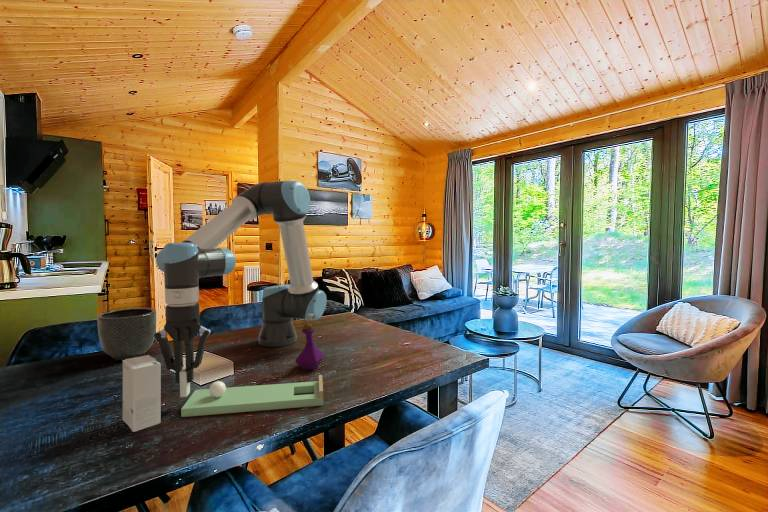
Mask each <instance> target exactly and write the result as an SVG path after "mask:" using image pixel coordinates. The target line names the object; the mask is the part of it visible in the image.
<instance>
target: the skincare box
mask: <svg viewBox="0 0 768 512" xmlns="http://www.w3.org/2000/svg"><path fill="white" fill-rule="evenodd" d="M121 362H122V421H123V422H124V423H125V424H126V425H127V426H128V427H129V429H130V430H131V432H133V433H134V432H138V431H141V430H144V429H147V428H150V427H153V426H156V425H159V424H161V423H162V421H161V415H162V413H161V411H162V410H161V408H162V407H161V405H162V403H161V398H162V397H161V395H162V394H161V391H162V390H161V384H162V381H161V379H162V378H161V377H162V376H161V375H162V371H161V368H162V366H161V365H162V364H161V362H159V361H157V359H156V358H155V357H152V356H151V355H149V354H147V355H146V354H144V355H143V356H140V357H135V358H130V359H125V360H122V361H121Z"/></svg>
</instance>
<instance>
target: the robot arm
mask: <svg viewBox="0 0 768 512" xmlns="http://www.w3.org/2000/svg"><path fill="white" fill-rule="evenodd" d="M310 209H311V196H310V193H309V190H308V189H307V187H306V186H305V185H304V184H303V183H302V182H300V181H297V180H280V181H279V180H278V181H265V182H260V183H257V184H254V185H252V186H250V187H249V188H247V189H245V190H244V191H242V192H241V193H239V194H238V195H236V196H235V197H234V198H233V199H232V201H231V204H230V205H229V206H227V207H226V208H225V209H223V210H222V211H220V212H219V213H218V214H217V215H215V216H214V217H213V218H211V219H210V220H209V221H208V222H206V223H205V224H204V225H203V226H200V227H199V228H198V229H197V230H196V231H194V232H193V233H192V234H191V235H190V236H188V237H186V238H185V239H184V240H182V241H181V242H167V243H166V244H165V245H164V247H163V249H161V250H159V251H158V253H157V255H156V257H155V263H156V266H157V269H159V270H160V272H163V277H164V279H163V280H164V301H165V302H164V303H165V304H166V305H165V308H164V310H165V313H164V315H165V324H164V327H163V328H162V329H161V330H159V331H156V333H155V334H154V337H155V339H156V341H157V342H158V344H159V347H160V350H161V353H162V357H163V360H164V364H165V366H166V369H167V370H170V371H171V370H173V371H174V373H175V383H176V384H179V392H180V393H179V397H180V398H187V397H188V396H189V394H190V393H191V383H192V382H193V381H194V379H195V378H194V377H195V373H194V371H195V369H197V368H199V367H200V365H201V364H202V361H203V358H204V353H205V349H206V345H207V340H208V337H209V336H210V334H211V332H212V329H211V328H206V327H205V326H203V325H202V322H201V321H200V319H201V318H200V304H199V303H198V302H199V301H200V292H199V291H200V288H199V287H200V284H199V279H202V278H206V277H207V278H208V277H209V278H210V277H215V276H216V277H217V276H220V277H221V276H224V275H228V274H230V273H232V272H233V271H234V269H235V268H236V265H237V263H236V257H235V254H234V252H232V251H231V249H228V248H217V247H218V246H220V245H221V244H222V243H223V242H225V241H226V240H227V239H228V238H229V237H230V236H232V234H234V233H235V232H236V231H237V230H238V229H240V228H241V227H242V226H243V225H244V224H245V223H247V222H250V221H253V220H255V219H256V218H257V217H260V216H264V215H272V217H273V222H274V223H276V224H277V225H278V226H279V231H280V237H281V241H282V247H283V251H284V252H283V253H284V257H285V263H286V268H287V271H288V277H289V281H290V284H280V285H272V286H267V287H265V288H263V290H262V292H261V293H262V295H261V311H262V325H261V328H260V331H259V334H258V340H257V341H258V345H260V346H262V347H267V348H268V347H269V348H270V347H271V348H272V347H273V348H274V347H275V348H276V347H277V348H278V347H284V346H289V345H292V344H295V343H296V342H297V338H298V337H297V336H298V335H297V332H296V329H295V326H294V324H293V319H297V320H306V321H307V319H306V314H315V316H314V318H313V319H312V318H311V319H310V320H309V321H317V320H319V319H320V318H321V317H322V316H323V314H324V313H325V309H326V308H327V307H326V306H327V294H326V293H325V291H323V290H321V289H319V288H320V287H319V284H318V282H316V281H315V280H314V278H313V277H314V276H313V272H312V266H311V260H310V259H311V258H310V254H309V249H308V243H307V237H306V231H305V227H304V226H305V225H304V221H305V219H307V213H308V212H309V211H310ZM198 332H199V336H200V338H199V340H198V343H197V344H198V345H197V349H196V353H195V352H194V351H195V350H194V349H195V348H194V341H195V340H194V339H195V336H197V334H198ZM168 336H169V337H170V338H171V340H172V345H173V351H172V348H171V345H170V341H169V339H168ZM183 345H184V350H183ZM183 351H184V352H185V353H184V352H183ZM194 353H195V354H194ZM184 354H185V359H184ZM184 360H185V365H184ZM184 366H185V367H184Z"/></svg>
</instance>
